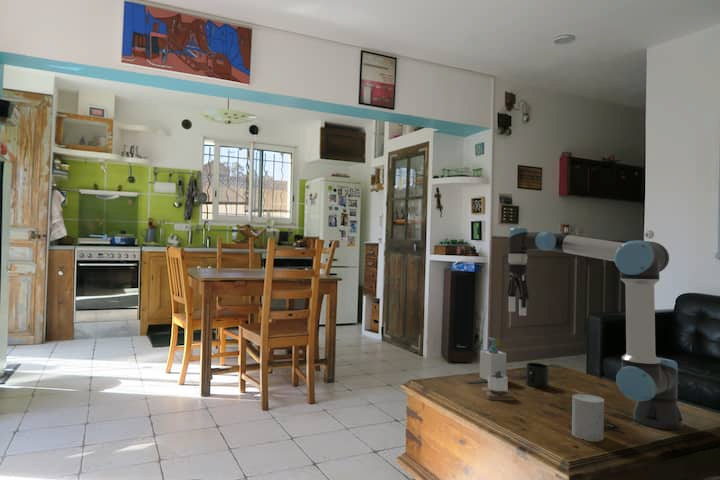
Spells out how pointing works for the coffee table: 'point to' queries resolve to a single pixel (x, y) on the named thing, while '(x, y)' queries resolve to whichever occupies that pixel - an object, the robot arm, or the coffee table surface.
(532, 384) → the mug
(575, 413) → the white cylinder
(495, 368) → the soap bottle
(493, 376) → the ring
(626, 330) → the robot arm
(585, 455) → the coffee table surface
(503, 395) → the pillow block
